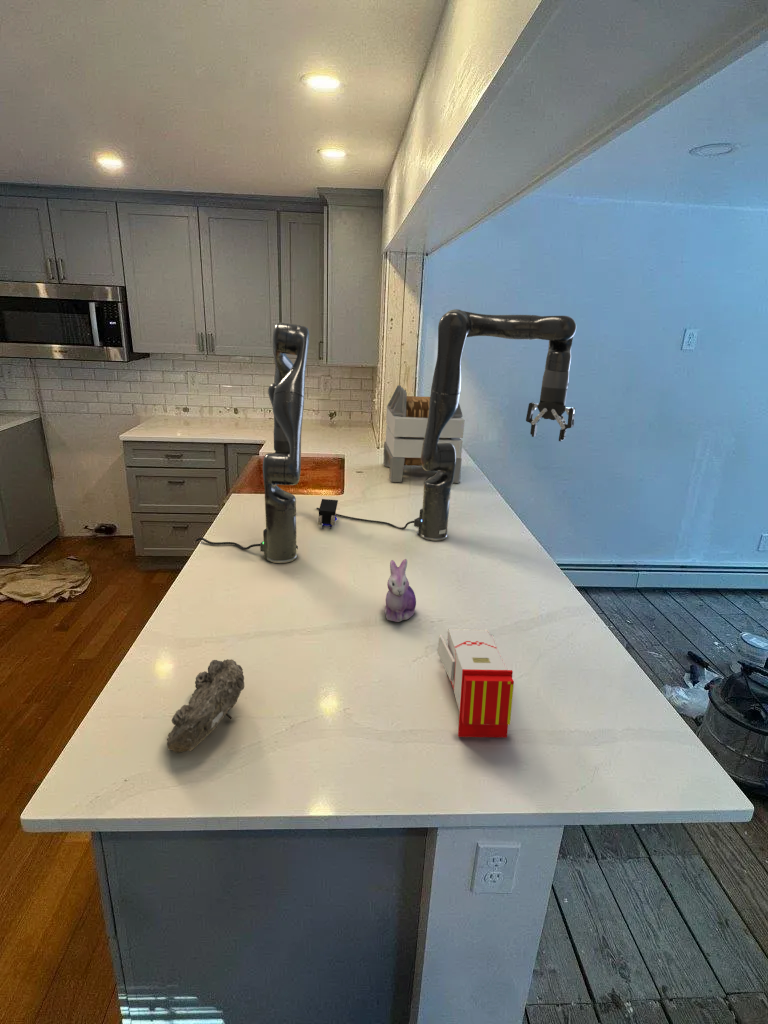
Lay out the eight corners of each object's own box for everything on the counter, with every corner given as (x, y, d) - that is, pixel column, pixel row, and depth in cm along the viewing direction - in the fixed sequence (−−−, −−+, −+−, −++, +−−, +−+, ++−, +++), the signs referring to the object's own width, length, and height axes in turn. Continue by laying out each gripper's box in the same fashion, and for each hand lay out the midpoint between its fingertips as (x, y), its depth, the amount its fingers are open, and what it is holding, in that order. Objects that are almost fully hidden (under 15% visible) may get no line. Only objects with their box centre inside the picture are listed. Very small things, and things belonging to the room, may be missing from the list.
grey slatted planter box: (382, 463, 289) (386, 382, 275) (445, 464, 293) (451, 384, 279) (390, 482, 257) (394, 392, 243) (460, 483, 261) (468, 394, 247)
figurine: (392, 627, 141) (395, 572, 136) (374, 608, 149) (376, 556, 144) (425, 619, 145) (429, 566, 140) (405, 601, 154) (408, 550, 149)
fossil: (192, 660, 117) (244, 628, 112) (224, 691, 120) (276, 661, 115) (142, 746, 98) (202, 712, 93) (182, 779, 101) (242, 748, 96)
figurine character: (335, 535, 199) (338, 516, 213) (336, 516, 196) (338, 497, 209) (316, 534, 199) (320, 515, 213) (316, 515, 196) (320, 497, 209)
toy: (488, 613, 130) (523, 677, 101) (484, 667, 133) (517, 744, 104) (435, 612, 130) (455, 676, 101) (432, 666, 133) (451, 743, 103)
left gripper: (262, 436, 211) (264, 480, 217) (291, 442, 204) (291, 488, 210) (277, 433, 217) (278, 476, 223) (305, 439, 210) (305, 483, 216)
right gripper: (527, 384, 171) (520, 437, 176) (574, 389, 164) (566, 444, 169) (536, 382, 177) (529, 433, 182) (582, 387, 169) (573, 440, 175)
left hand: (284, 481), depth 216 cm, fingers closed on block, 4 cm apart
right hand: (547, 438), depth 176 cm, fingers open, 8 cm apart
